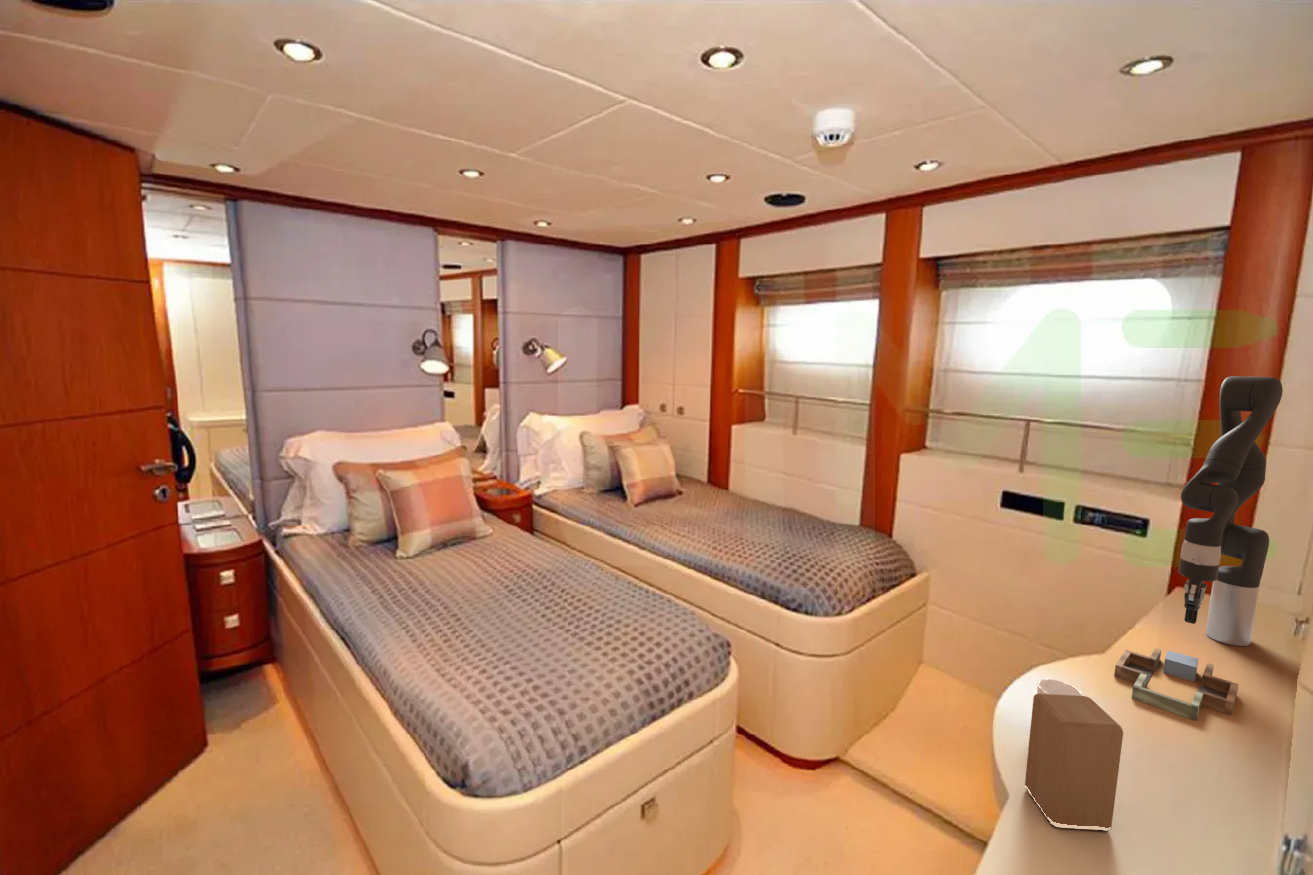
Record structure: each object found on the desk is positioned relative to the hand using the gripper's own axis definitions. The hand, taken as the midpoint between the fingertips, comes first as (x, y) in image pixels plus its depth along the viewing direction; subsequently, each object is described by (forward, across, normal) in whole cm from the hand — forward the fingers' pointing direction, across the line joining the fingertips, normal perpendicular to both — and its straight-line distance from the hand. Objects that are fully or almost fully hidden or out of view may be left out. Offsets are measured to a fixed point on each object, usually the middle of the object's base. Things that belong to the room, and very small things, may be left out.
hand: (1190, 622), depth 154 cm
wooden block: (+13, +84, -6) cm, 85 cm away
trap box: (+11, +18, 0) cm, 21 cm away
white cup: (+12, +60, -14) cm, 62 cm away
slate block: (+11, +8, 0) cm, 14 cm away
